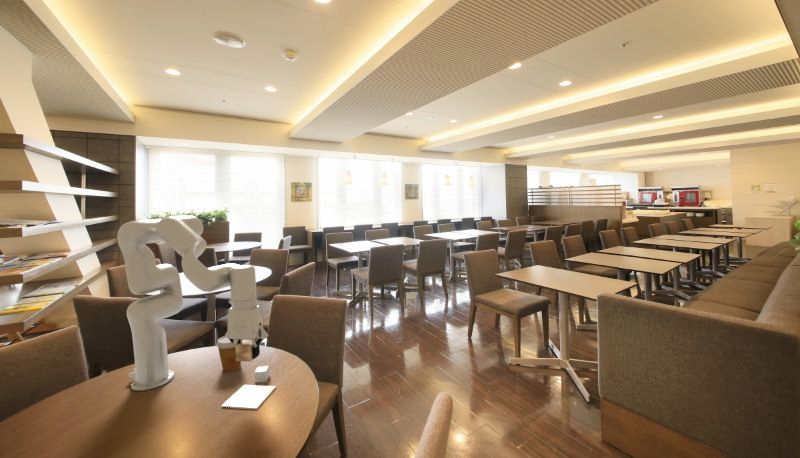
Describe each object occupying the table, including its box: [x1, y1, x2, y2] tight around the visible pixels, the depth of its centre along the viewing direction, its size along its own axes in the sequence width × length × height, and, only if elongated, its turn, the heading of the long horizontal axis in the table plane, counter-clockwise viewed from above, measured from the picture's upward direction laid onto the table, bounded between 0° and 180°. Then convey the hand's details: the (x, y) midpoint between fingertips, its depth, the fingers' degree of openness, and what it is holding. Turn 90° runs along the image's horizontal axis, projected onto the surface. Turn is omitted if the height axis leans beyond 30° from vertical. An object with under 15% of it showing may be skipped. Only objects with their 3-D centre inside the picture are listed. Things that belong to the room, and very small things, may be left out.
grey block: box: [254, 365, 270, 383], centre depth 119 cm, size 4×4×4 cm
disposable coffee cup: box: [216, 335, 243, 373], centre depth 127 cm, size 10×10×12 cm
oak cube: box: [235, 340, 254, 362], centre depth 106 cm, size 5×5×5 cm
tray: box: [221, 384, 277, 410], centre depth 108 cm, size 12×12×1 cm
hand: (247, 356), depth 107 cm, fingers closed on oak cube, 5 cm apart
